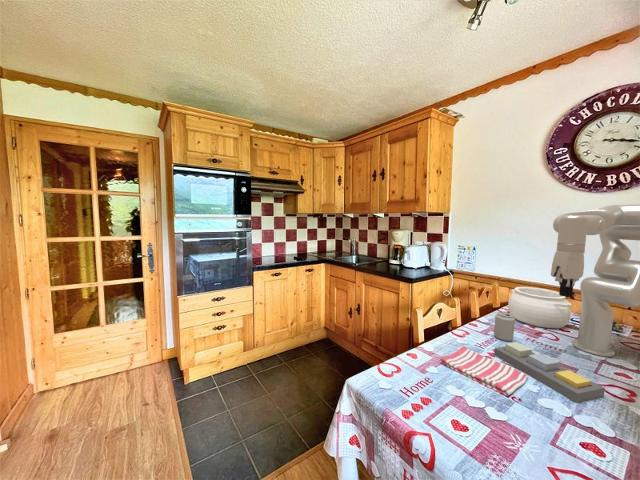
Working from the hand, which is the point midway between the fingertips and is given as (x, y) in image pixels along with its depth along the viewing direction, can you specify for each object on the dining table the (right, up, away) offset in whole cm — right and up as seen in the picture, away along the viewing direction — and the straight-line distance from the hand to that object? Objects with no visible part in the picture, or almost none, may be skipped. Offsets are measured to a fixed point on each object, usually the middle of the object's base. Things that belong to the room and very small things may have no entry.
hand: (565, 296), depth 97 cm
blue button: (-12, -25, -4) cm, 28 cm away
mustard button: (-10, -27, -13) cm, 31 cm away
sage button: (-14, -24, +5) cm, 28 cm away
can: (-7, -25, +23) cm, 35 cm away
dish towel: (-34, -28, -3) cm, 44 cm away
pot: (+28, -24, +45) cm, 58 cm away
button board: (-12, -27, -4) cm, 30 cm away
